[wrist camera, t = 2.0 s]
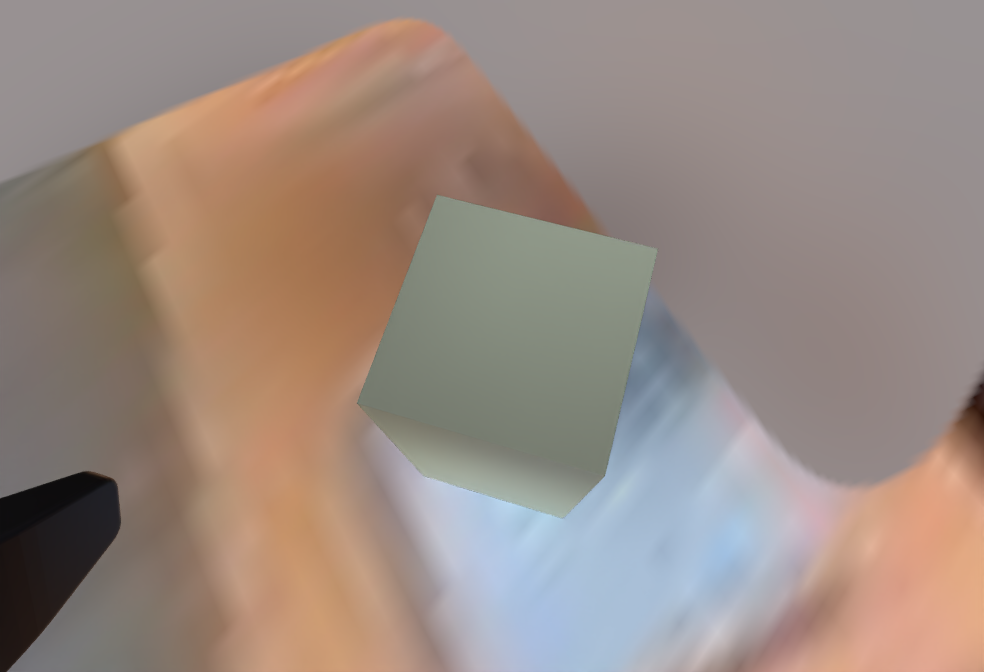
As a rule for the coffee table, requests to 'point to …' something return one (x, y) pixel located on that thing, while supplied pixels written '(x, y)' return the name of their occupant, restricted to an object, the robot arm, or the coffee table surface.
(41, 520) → the robot arm
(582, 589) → the coffee table surface
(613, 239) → the sage block
